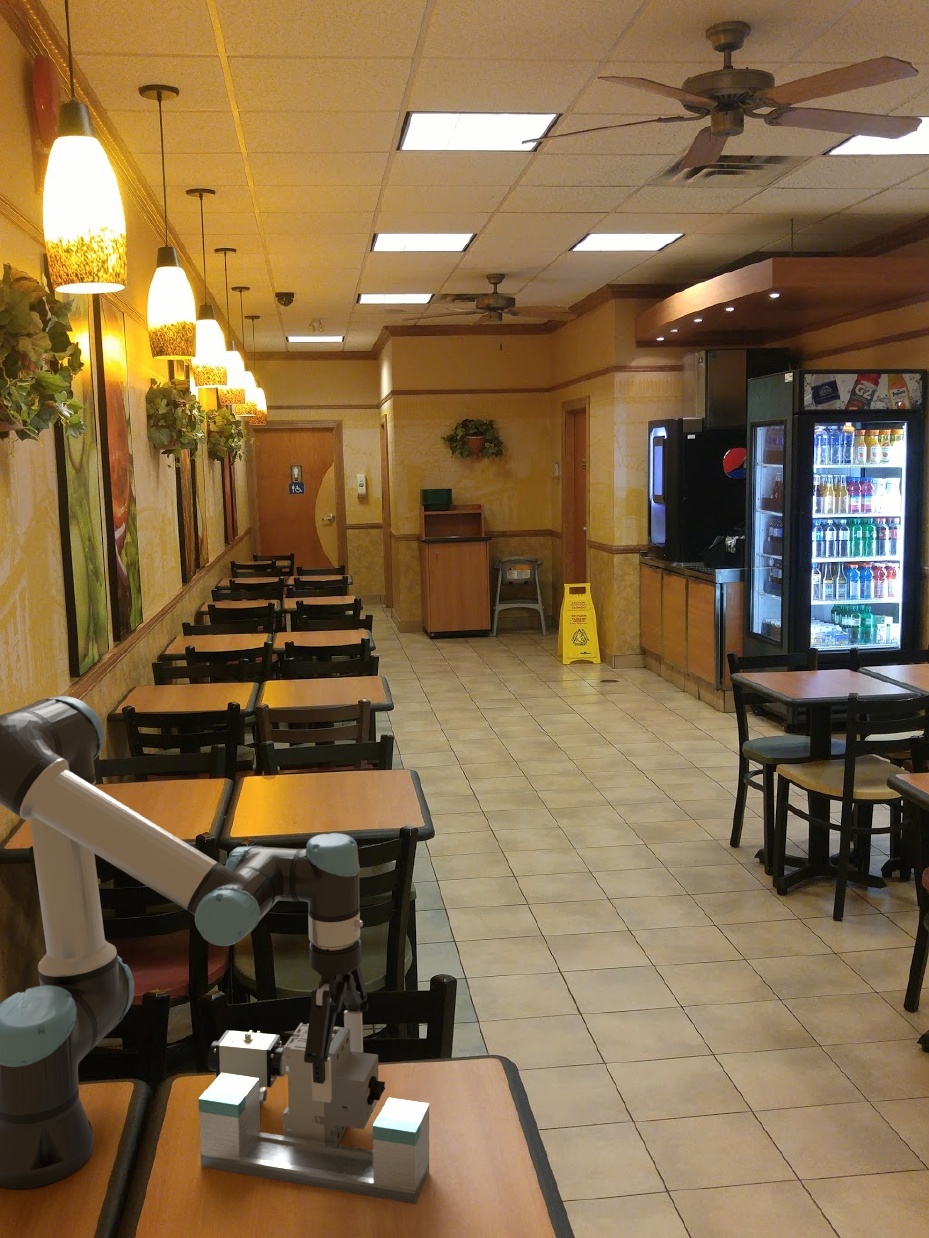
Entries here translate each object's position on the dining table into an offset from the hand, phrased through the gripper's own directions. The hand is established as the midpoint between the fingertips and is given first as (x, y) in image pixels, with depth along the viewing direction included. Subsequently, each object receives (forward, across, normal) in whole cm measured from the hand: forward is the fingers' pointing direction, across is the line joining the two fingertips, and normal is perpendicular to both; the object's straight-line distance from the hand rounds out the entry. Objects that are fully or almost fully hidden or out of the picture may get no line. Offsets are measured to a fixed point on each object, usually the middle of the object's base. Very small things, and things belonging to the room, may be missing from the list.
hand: (338, 1075), depth 163 cm
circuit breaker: (+10, 0, 0) cm, 10 cm away
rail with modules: (+9, -9, 0) cm, 13 cm away
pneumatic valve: (+9, +4, +16) cm, 19 cm away
